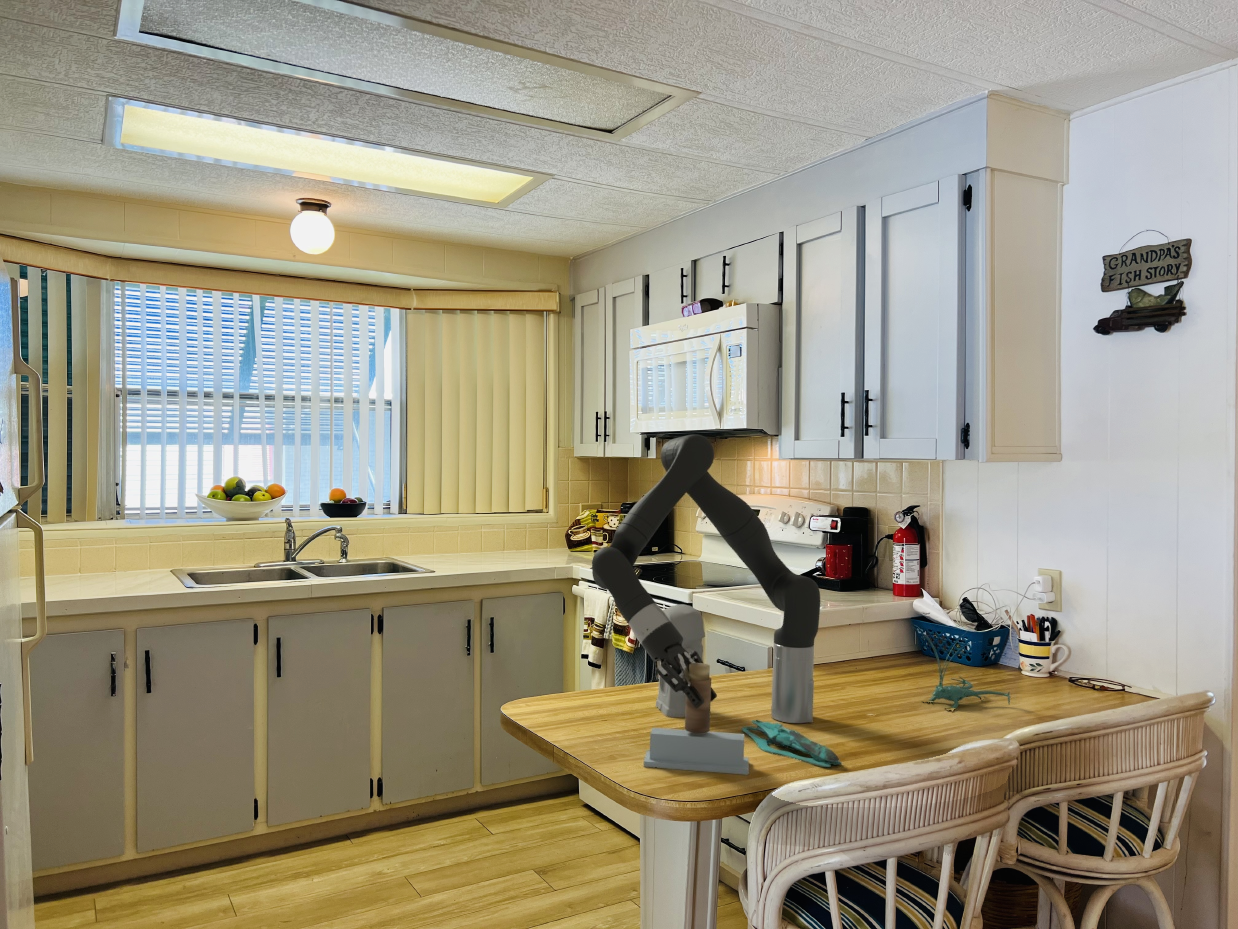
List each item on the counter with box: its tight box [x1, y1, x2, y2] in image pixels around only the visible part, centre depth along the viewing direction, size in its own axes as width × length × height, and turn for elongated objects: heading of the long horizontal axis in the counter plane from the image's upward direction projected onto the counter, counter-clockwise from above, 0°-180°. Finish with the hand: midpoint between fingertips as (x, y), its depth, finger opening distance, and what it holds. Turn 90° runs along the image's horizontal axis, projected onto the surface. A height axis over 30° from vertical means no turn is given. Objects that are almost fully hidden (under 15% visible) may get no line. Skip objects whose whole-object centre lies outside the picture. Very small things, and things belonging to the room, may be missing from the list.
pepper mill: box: [684, 662, 712, 733], centre depth 177 cm, size 5×5×12 cm
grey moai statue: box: [655, 604, 706, 718], centre depth 214 cm, size 15×10×25 cm
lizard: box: [913, 624, 1011, 709], centre depth 226 cm, size 23×25×21 cm
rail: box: [643, 727, 750, 776], centre depth 177 cm, size 20×7×6 cm, turn 82°
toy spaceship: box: [741, 719, 843, 768], centre depth 189 cm, size 11×27×5 cm, turn 33°
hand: (706, 702), depth 176 cm, fingers closed on pepper mill, 4 cm apart
